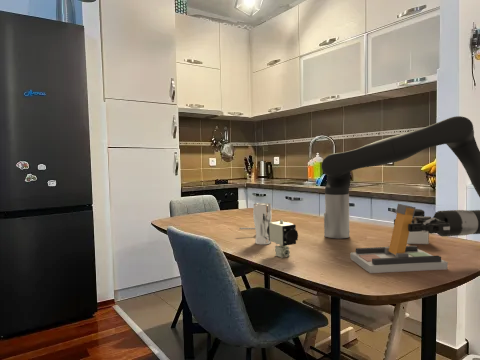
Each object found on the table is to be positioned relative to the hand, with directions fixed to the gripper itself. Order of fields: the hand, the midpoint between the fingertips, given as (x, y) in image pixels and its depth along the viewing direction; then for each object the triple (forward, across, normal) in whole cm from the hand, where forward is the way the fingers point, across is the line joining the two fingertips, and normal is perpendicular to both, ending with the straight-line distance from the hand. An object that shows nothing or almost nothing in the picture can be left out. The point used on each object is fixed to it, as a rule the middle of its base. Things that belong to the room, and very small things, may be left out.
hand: (401, 225), depth 103 cm
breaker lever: (+2, 0, +8) cm, 9 cm away
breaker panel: (+2, 0, +11) cm, 12 cm away
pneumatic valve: (+33, -14, +12) cm, 37 cm away
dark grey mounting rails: (+2, 0, +9) cm, 10 cm away
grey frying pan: (+36, -46, +12) cm, 60 cm away
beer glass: (+37, -33, +12) cm, 51 cm away
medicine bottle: (-18, -24, +12) cm, 32 cm away
